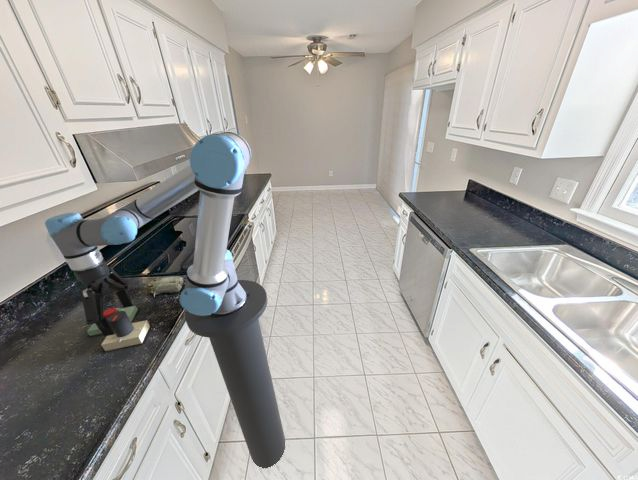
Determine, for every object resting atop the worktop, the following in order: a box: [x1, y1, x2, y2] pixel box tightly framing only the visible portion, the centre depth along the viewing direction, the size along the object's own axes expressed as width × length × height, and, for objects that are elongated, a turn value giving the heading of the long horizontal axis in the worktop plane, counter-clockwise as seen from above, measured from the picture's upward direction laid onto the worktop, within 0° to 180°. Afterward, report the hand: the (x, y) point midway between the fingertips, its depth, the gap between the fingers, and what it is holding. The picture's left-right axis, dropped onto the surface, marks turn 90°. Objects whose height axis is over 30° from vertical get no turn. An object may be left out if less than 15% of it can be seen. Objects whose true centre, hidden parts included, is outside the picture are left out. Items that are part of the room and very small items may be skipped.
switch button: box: [103, 307, 117, 319], centre depth 93 cm, size 4×4×2 cm
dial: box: [108, 311, 134, 337], centre depth 85 cm, size 5×5×7 cm
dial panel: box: [100, 319, 151, 352], centre depth 87 cm, size 11×9×3 cm
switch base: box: [86, 305, 139, 337], centre depth 94 cm, size 12×10×4 cm
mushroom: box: [145, 275, 184, 298], centre depth 111 cm, size 14×10×5 cm, turn 98°
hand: (120, 319), depth 84 cm, fingers open, 13 cm apart
